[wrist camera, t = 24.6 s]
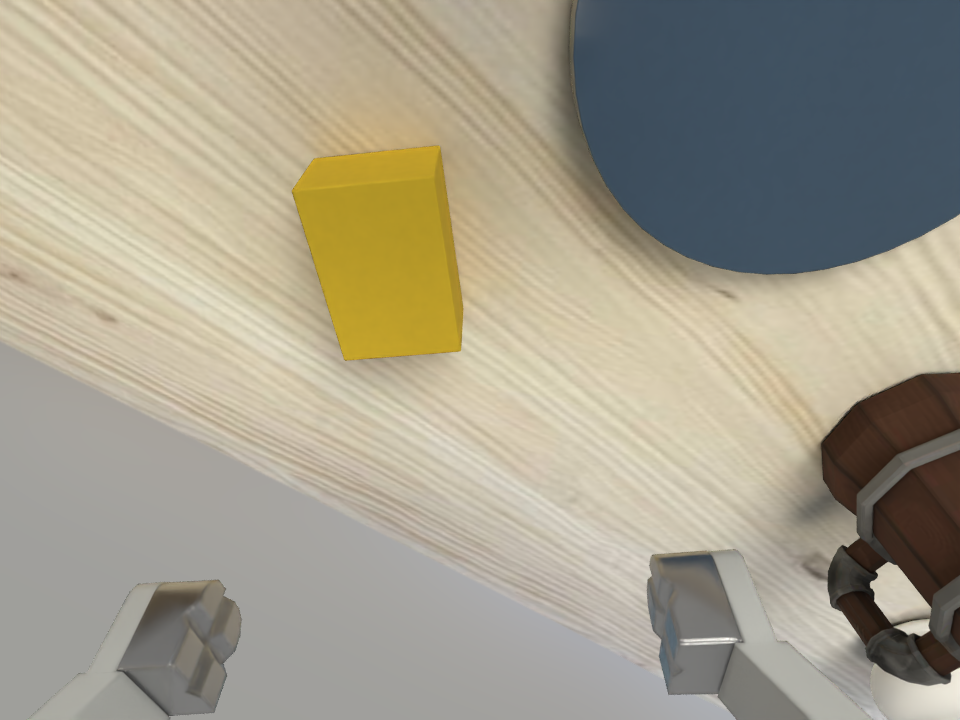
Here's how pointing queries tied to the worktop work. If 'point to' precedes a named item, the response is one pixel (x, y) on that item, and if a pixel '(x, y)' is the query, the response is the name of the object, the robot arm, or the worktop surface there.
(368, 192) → the yellow block
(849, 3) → the plate
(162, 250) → the worktop surface
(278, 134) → the worktop surface
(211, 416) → the worktop surface
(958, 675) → the vase
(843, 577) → the mug
